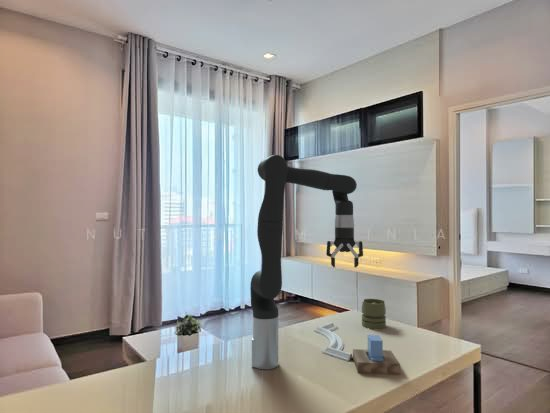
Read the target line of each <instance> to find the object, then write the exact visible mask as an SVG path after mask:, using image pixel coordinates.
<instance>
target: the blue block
mask: <svg viewBox="0 0 550 413" xmlns="http://www.w3.org/2000/svg"><path fill="white" fill-rule="evenodd" d="M383 349H384V348H383V339H382V338H381V336H380V335H379V334H367V349H366V350H367V352H368V358H369V360H372V361H384V359H383Z"/></svg>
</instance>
